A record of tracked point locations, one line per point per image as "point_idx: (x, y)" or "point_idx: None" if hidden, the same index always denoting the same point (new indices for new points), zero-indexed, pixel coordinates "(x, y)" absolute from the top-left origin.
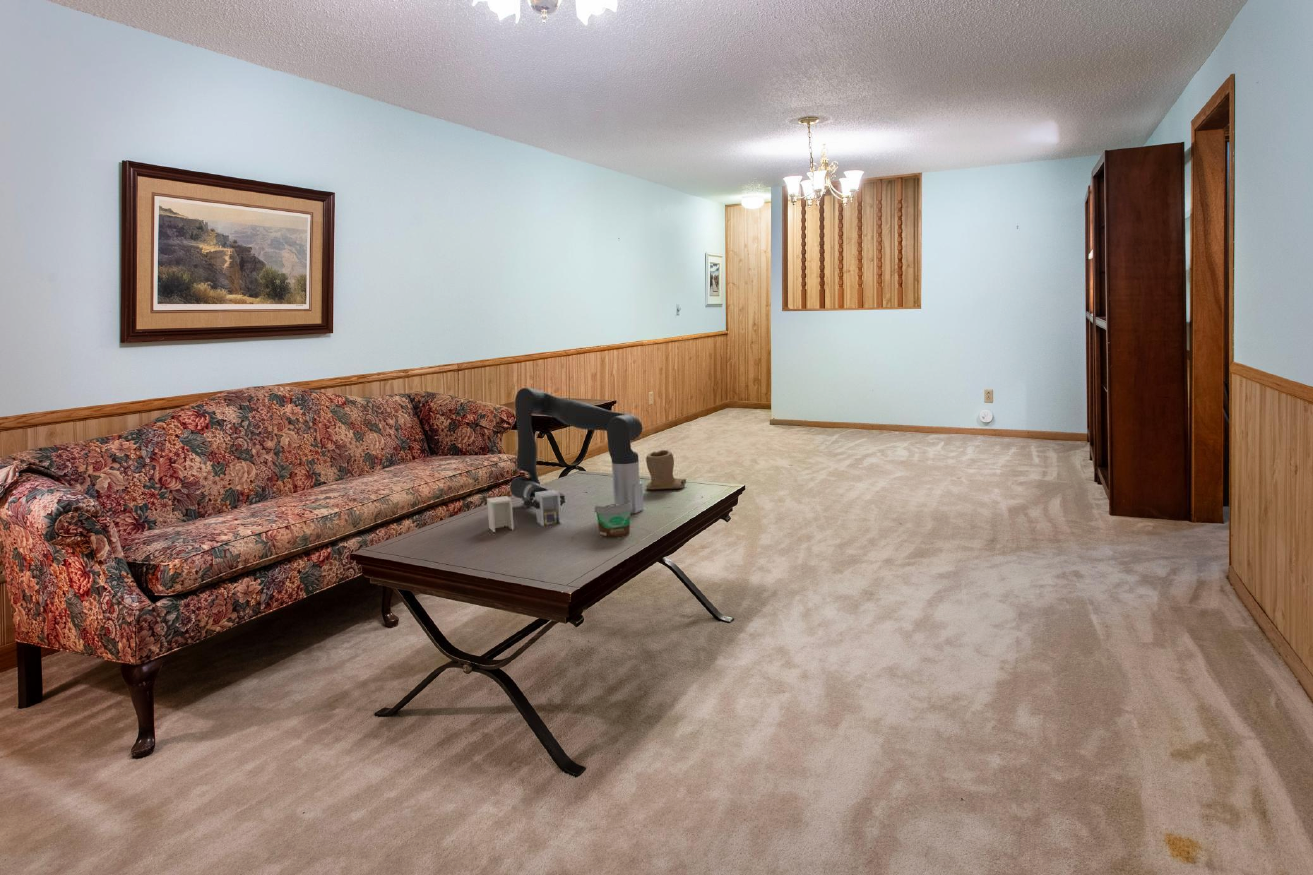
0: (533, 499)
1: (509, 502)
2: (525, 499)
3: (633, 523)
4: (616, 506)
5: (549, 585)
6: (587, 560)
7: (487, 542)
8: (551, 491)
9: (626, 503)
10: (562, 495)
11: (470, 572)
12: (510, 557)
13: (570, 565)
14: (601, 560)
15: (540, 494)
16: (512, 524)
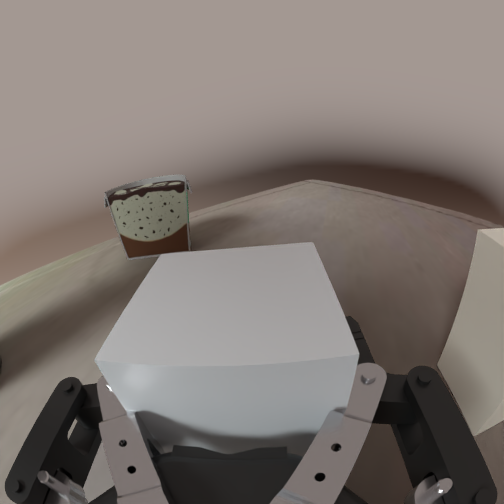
0: (368, 378)
1: (488, 250)
2: (451, 420)
3: (68, 292)
4: (161, 176)
5: (326, 183)
6: (270, 202)
7: (467, 277)
8: (161, 318)
9: (116, 194)
10: (69, 384)
11: (422, 203)
12: (384, 219)
13: (296, 197)
14: (253, 201)
15: (303, 268)
16: (448, 344)
